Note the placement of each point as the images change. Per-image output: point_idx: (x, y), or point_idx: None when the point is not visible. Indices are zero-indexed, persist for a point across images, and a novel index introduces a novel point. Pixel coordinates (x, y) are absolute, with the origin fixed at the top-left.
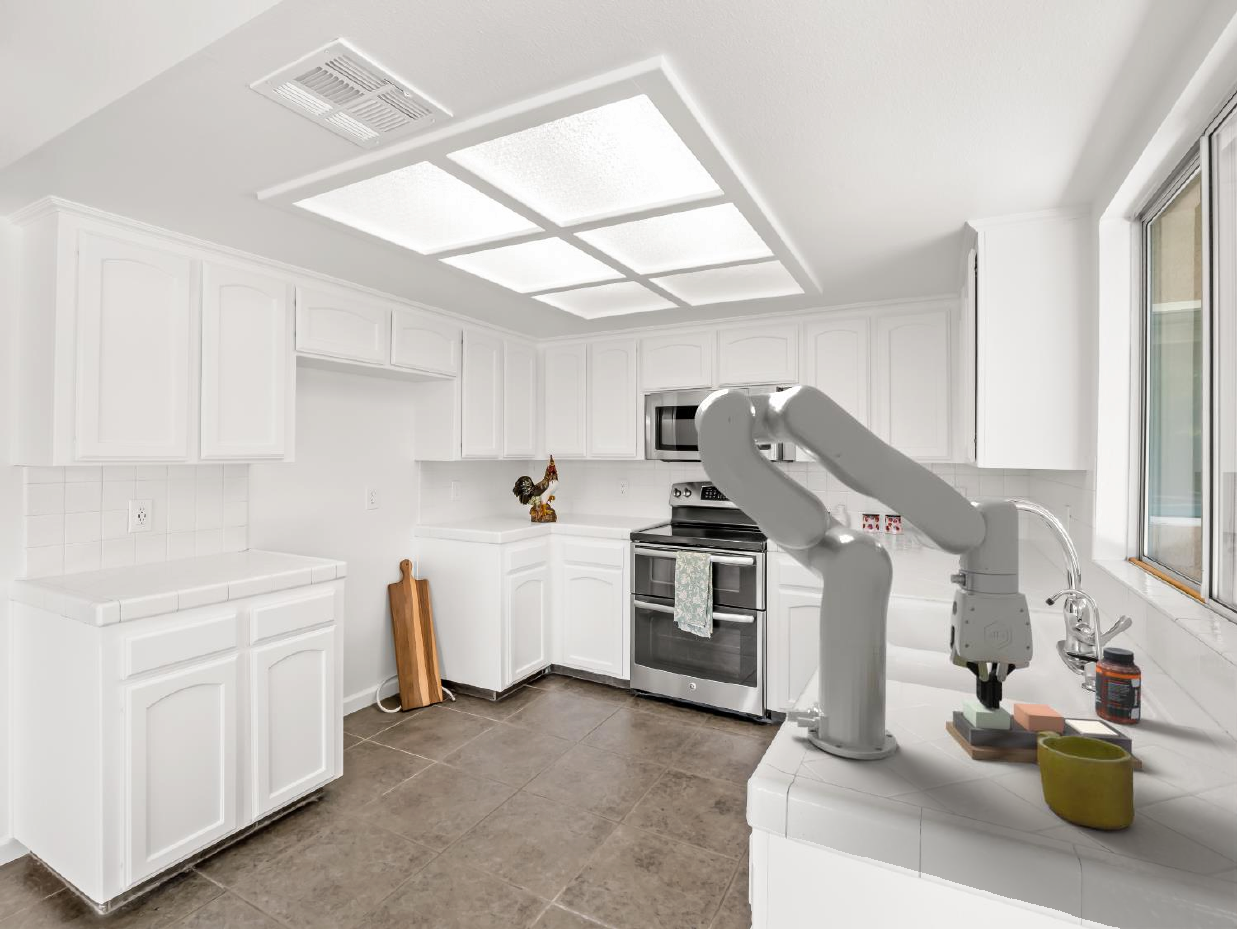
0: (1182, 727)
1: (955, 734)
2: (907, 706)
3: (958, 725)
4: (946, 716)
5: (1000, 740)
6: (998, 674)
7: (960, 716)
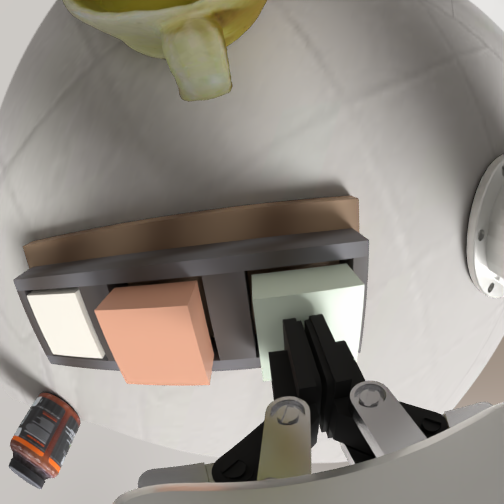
0: (12, 384)
1: None
2: None
3: None
4: None
5: (282, 242)
6: (306, 424)
7: None
